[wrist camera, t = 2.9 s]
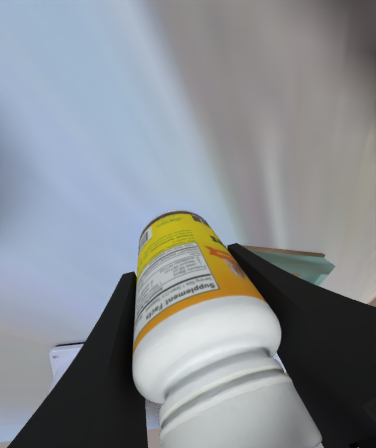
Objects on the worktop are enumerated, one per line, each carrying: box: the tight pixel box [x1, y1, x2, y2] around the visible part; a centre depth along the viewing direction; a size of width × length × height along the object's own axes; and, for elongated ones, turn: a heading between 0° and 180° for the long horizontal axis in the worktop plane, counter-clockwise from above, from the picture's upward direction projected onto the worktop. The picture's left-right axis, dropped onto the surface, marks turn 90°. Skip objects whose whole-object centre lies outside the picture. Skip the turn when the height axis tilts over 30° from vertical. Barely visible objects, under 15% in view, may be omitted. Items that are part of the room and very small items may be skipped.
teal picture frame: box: [241, 245, 335, 286], centre depth 18 cm, size 12×12×2 cm
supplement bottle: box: [132, 210, 322, 448], centre depth 8 cm, size 6×6×10 cm
